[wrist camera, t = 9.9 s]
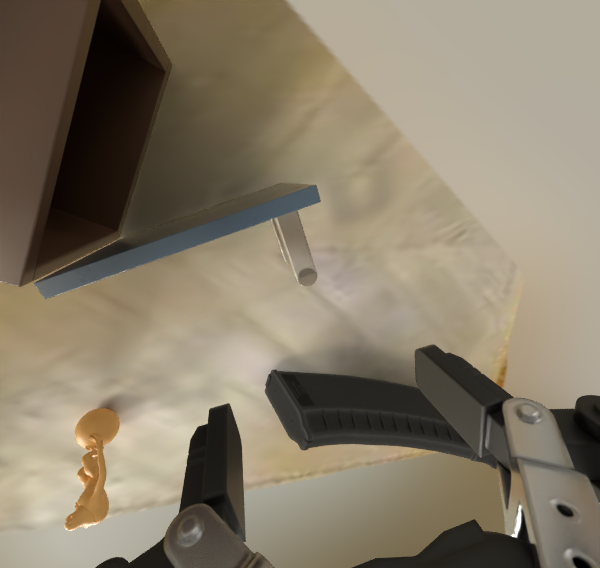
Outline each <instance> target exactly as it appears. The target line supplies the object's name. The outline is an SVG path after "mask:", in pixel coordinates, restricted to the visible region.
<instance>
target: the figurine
mask: <svg viewBox="0 0 600 568" xmlns="http://www.w3.org/2000/svg"><path fill="white" fill-rule="evenodd" d="M119 425H120V422H119V418H118V416H117V414H116V413H115V412H114V411H112V410H110V409H107V408H98V409H95V410H92V411H90V412H88V413H87V414H85V415H84V416H83V417H82V418H81V419H80V421H79V422H78V424H77V426H76V429H75V438H76V440H77V442H78V443H79V445H81V446H82V447H84V448H85V449H86V450H87V451H91V452H89V453H87V454H85V455H84V456H83V457H82V464H83V466H84V467H82V468H81V469H80V470H79V471H78V473H77V476H78V478H79V479H80V481H81V483H82V484H83V486H84V489H85V490H84V492H83V493H82V495H81V496H80V498H79V500H78V503H77V502H76V506H75V508H76V511H75V512H74V513H72V514H70V515H69V516H68V517H67V518H66V522H67V523H66V524H65V528H66V529H67V530H68V531H71V530H74V529H76V528H79V527H82V526H83V527H84V528H88V527H89V526H90V525H96V524H98V523H100V522H101V521H102V520H103V519H104V518H105V517H106V515H107V513H108V509H109V501H108V497H107V494H106V492H105V490H104V484H105V480H106V466H105V459H104V455H103V449H104V446H105V445H106V444H108V443H109V442H110V441H112V440H113V438H114V437H115V436H116V434H117V432H118V430H119ZM92 456H94V457H92Z"/></svg>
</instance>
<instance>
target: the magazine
mask: <svg viewBox="0 0 600 568" xmlns="http://www.w3.org/2000/svg"><path fill="white" fill-rule="evenodd" d="M265 393H266V395H267V397H268V399H269V401H270V402H271V404H272V406H273V408H274V410H275V412H276V413H277V415H278V417H279V419H280V421H281V423H282V425H283V426H284V428H285V430H286V432H287V434H288V436H289V437H290V438H291V439H292V440H294V441H295V442H297V443H298V445H299V447H300V449H301V450H308V448H312V447H318V446H324V445H336V444H365V445H389V446H402V447H411V448H418V449H425V450H431V451H437V452H442V453H447V454H452V455H456V456H460V457H464V458H468V459H471V460H472V461H478V462H483V463H486V464H488V465H490V466H491V467H492V468H495V469H497V458H496V457H495V456H494V455H493V454H490V455H487V456H484V457H482V458H480V457H479V456H478V454H477V453H476V452H475V451H474V450H473V449H472V448H471V447H470V446H469V444H468V443H467V442H466V441H465V440H464V439H463V438H462V437H461V436H460V434H459V433H458V432H457V431H456V430H455V429H454V428H453V427H452V426H451V424H450V423H449V422H448V421H447V420H446V419H445V418H444V417H443V416H442V415H441V413H440V412H439V411H438V410H437V409H436V408H435V407H434V406H433V405H432V403H431V402H430V401H429V400H428V399H427V398H426V397H425V396H424V395H423V393H422V392H421V391H420V389H417V388H414V387H410V386H405V385H400V384H396V383H390V382H385V381H379V380H373V379H366V378H359V377H351V376H341V375H330V374H315V373H299V372H283V371H277V370H271V373H270V374H269V375H268V379H267V382H266V389H265Z"/></svg>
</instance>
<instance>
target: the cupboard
mask: <svg viewBox="0 0 600 568" xmlns="http://www.w3.org/2000/svg"><path fill="white" fill-rule="evenodd" d="M171 66H172V63H171V61H170V59H169V57H168V56H167V54H166V52H165V50H164V48H163V46H162V44H161V43H160V41H159V39H158V37H157V35H156V33H155V31H154V30H153V28H152V26H151V24H150V22H149V20H148V18H147V17H146V15H145V13H144V11H143V9H142V7H141V5H140V4H139V2H138V0H0V282H4V283H7V284H11V285H14V286H18V287H22V286H24V285H26V284H28V283H30V282H31V281H34V280H36V279H38V278H40V277H42V276H44V275H46V274H48V273H50V272H52V271H54V270H56V269H58V268H60V267H63V266H65V265H67V264H69V263H71V262H73V261H75V260H77V259H79V258H81V257H83V256H85V255H87V254H89V253H91V252H93V251H95V250H97V249H99V248H101V247H103V246H105V245H107V244H109V243H111V242H113V241H115V240H117V239H119V236H120V233H121V229H122V226H123V223H124V220H125V216H126V213H127V210H128V206H129V203H130V200H131V197H132V193H133V190H134V187H135V184H136V180H137V177H138V174H139V171H140V167H141V164H142V161H143V157H144V154H145V151H146V148H147V144H148V141H149V138H150V135H151V131H152V128H153V125H154V122H155V118H156V115H157V112H158V109H159V105H160V102H161V99H162V95H163V92H164V89H165V86H166V82H167V79H168V76H169V73H170V69H171Z"/></svg>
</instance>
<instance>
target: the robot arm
mask: <svg viewBox="0 0 600 568" xmlns="http://www.w3.org/2000/svg"><path fill="white" fill-rule="evenodd" d="M415 373H416V382H417V385H418V387H419V389H420V391H421V392H422V393H423V395H424V396H425V397H426V398H427V399H428V400H429V401H430V402H431V403H432V405H433V406H434V407H435V408H436V409H437V410H438V411H439V412H440V413H441V415H442V416H443V417H444V418H445V419H446V420H447V421H448V422H449V423H450V424H451V426H452V427H453V428H454V429H455V430H456V431H457V432H458V433H459V434H460V436H461V437H462V438H463V439H464V440H465V441H466V442H467V443H468V444H469V446H470V447H471V448H472V449H473V450H474V451H475V452H476V453H477V454H478V456H479V457H480V458H482V457H484V456H487V455H490V454H493V455H494V456H495V457H496V458H497V471H498V477H499V485H500V491H501V498H502V505H503V510H504V519H505V534H502V533H497V532H489V531H483V530H482V529H481V527H480V526H479V524H478V523H477V522H476V520H472V521H469V522H467V523H464V524H461V525H459V526H456V527H454V528H452V529H449V530H446V531H444V532H443V533H442V534H440V535H439V536H438V537H437V538H436V539H435V540H434V541H433V542H432V543H430V544H429V545H428V546H427V547H426V548H425V549H424V550H423V551H422V552H420V553H419V554H418V555H416V556H413V557H394V558H375V559H373V560H370V561H368V562H365V563H363V564H360V565H358V566H355V567H353V568H600V504H599V503H600V396H595V395H586V396H582V397H580V398H578V399H577V401H576V405H575V409H547V408H546V407H545V406H543V405H542V404H540V403H537V402H535V401H532V400H529V399H525V398H514V397H512V396H511V395H510V394H509V393H507V392H506V391H505V390H503V389H502V388H501V387H499V386H498V385H497V384H496V383H494V382H493V381H492V380H490V379H489V378H488V377H486V376H485V375H484V374H481V372H480V371H479V370H477V369H476V368H475V367H474V368H473V366H472V365H471V364H469V363H468V362H467V361H465V360H464V359H463V358H461V357H459V356H456V355H454V354H451V353H444V352H443V351H442V350H441V349H439V348H438V347H437V346H435V345H429V346H426V347H422V348H419V349H416V351H415ZM245 539H246V538H245V515H244V489H243V464H242V445H241V439H240V434H239V430H238V427H237V424H236V421H235V418H234V415H233V412H232V409H231V406H230V404H229V403H228V404H224V405H221V406H217V407H214V408H211V409H210V410H209V417H208V424H206V425H202V426H199V427H198V428H197V429H196V431H195V433H194V435H193V436H192V438H191V440H190V447H189V455H188V459H187V466H186V472H185V479H184V485H183V491H182V498H181V504H180V510H179V514H178V515H177V516H176V517H175V518H174V520H173V521H172V523H171V524H170V526H169V527H168V529H167V532H166V535H165V537H164V538H163V539H162V540H161V541H160V542H158V543H157V544H156V545H155V546H153V547H152V548H150V549H149V550H147V551H146V552H145V553H143V554H142V555H140V556H139V557H137V558H136V559H135V560H133V561H132V562H130V563H129V562H128V561H127V560H125V559H124V558H120V557H115V558H111V559H109V560H106V561H104V562H103V563H101V564H100V565H98V566H97V567H96V568H275V567H273V565H272V564H271V563H270V562H269V561H268V560H267V559H266V558H265V557H264V556H263V555H262V554H260V553H258V552H256V553H253V552H252V551H251V550H249V548H248V547H247V546H246V545H245V544H244V543H243V542H245V541H246V540H245Z"/></svg>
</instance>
